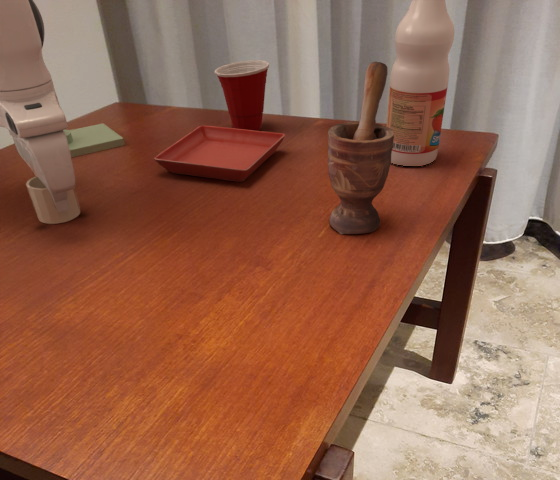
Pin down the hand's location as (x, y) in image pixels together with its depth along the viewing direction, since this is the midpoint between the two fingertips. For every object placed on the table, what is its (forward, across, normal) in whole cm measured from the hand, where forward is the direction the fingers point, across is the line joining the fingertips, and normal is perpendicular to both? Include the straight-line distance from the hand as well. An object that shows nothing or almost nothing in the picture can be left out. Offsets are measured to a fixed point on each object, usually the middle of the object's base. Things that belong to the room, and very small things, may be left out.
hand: (55, 201), depth 86 cm
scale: (+2, -30, +13) cm, 33 cm away
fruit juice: (+2, +16, +59) cm, 61 cm away
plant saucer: (+2, -3, +31) cm, 31 cm away
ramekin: (+2, 0, 0) cm, 2 cm away
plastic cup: (+2, -17, +44) cm, 47 cm away
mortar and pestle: (+2, +29, +36) cm, 46 cm away
